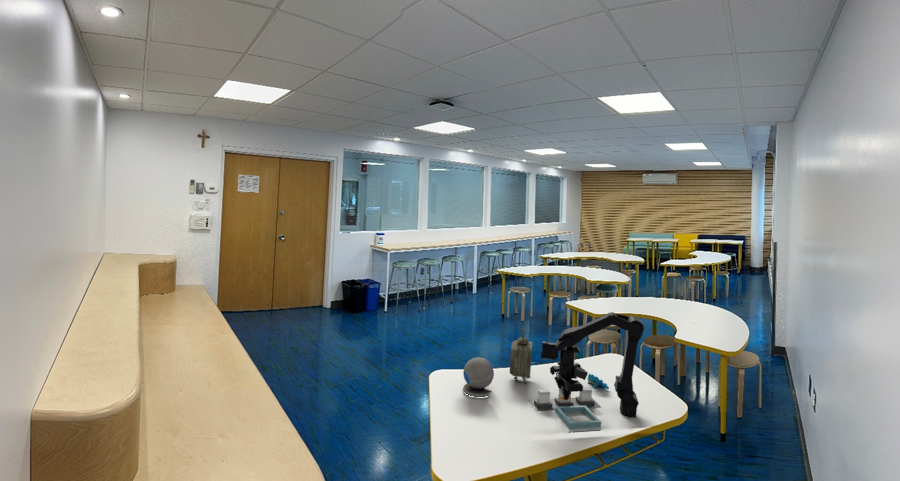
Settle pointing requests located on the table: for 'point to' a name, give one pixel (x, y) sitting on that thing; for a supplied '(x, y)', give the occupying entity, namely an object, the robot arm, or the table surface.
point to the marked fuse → (561, 397)
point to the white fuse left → (543, 396)
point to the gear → (596, 381)
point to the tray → (578, 424)
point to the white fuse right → (585, 394)
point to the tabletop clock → (521, 358)
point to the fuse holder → (562, 404)
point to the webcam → (478, 377)
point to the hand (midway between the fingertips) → (564, 398)
